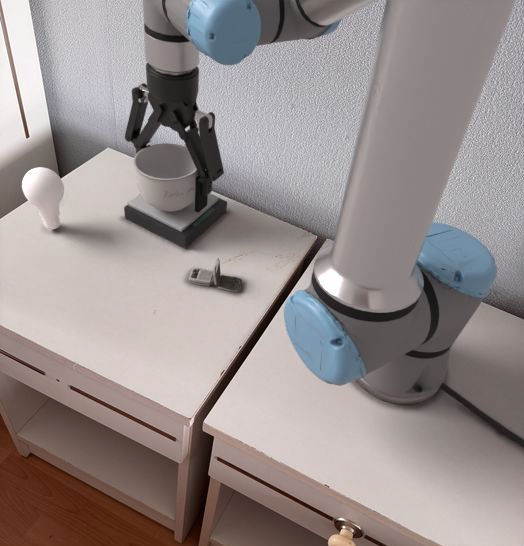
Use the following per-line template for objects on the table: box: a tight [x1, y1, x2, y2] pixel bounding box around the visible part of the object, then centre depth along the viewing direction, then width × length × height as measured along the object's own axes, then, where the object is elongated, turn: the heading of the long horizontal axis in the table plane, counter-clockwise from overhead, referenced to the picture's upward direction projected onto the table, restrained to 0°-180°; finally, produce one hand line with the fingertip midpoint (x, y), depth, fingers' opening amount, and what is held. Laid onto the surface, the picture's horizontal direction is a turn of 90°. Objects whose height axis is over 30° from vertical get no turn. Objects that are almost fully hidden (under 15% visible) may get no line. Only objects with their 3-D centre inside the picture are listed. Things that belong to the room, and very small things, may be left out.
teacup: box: [133, 142, 199, 211], centre depth 87 cm, size 14×11×8 cm
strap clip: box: [188, 257, 243, 293], centre depth 82 cm, size 8×3×4 cm, turn 81°
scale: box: [123, 193, 228, 250], centre depth 92 cm, size 13×13×3 cm
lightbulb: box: [21, 166, 65, 230], centre depth 83 cm, size 6×6×11 cm
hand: (173, 195), depth 90 cm, fingers closed on teacup, 11 cm apart
